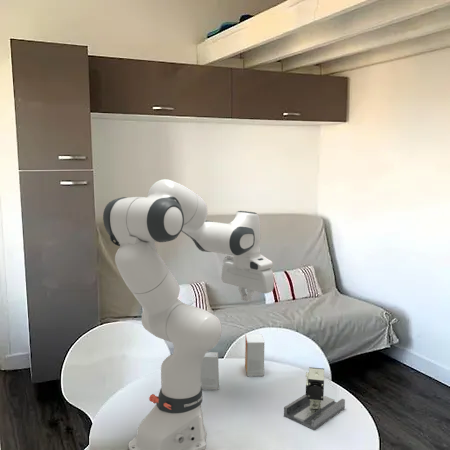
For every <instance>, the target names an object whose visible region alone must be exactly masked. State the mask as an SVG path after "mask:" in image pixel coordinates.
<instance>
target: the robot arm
mask: <svg viewBox="0 0 450 450" xmlns="http://www.w3.org/2000/svg"><path fill="white" fill-rule="evenodd" d="M207 217H208V205H207V203H206V201H205V200H204V199H203V198H202V197H201V196H200V195H199V193H196V192H195V191H193V190H192V189H191V188H189V187H187V186H185V185H184V184H182V183H179V182H176V181H175V180H171V179H167V178H164V179H160V180H157V181H156V182H154V183H153V184H152V185H151V186H150V188H149V190H148V192H147V196H132V197H131V196H130V197H128V196H127V197H126V196H122V197H118V198H115V199H113V200H111V201H109V202H108V203H107V204H106V205H105V207H104V209H103V215H102V221H103V225H104V228H105V231H106V232H107V234H108V236H109V239H110V241H111V243H113V244H114V245H116V246H118V247H119V248H118V249H117V251H116V253H115V256H114V263H115V266H116V268H117V270H118V273H119V274H120V277H121V278H122V279H123V282H124V283H125V285H126V287H127V288H128V289H129V291H130V292H131V293H132V295H133V296H134V298H135V299H136V301H137V302H138V303H139V305H140V306H141V307H142V313H141V319H140V321H141V324H142V327H143V328H144V329H145V330H146V331H147V332H148V333H150V334H151V335H153V336H155V337H157V338H159V339H161V340H165V341H166V342H170V343H172V345H173V353H172V354H170V355H168V356H167V357H166V358H165V359H164V360H163V361H162V363H161V365H160V366H161V367H160V380H161V381H160V383H161V384H160V385H161V388H160V389H159V391H158V392H159V393H158V396H157V395H156V394H153V393H152V394H150V395H149V397H148V399H149V402H151V403H153V404H155V405H154V407H153V408H152V409H151V410H150V411H149V413H148V414H147V415H146V416H145V418H143V419H142V421H141V422H140V423H139V424H138V427H137V428H138V429H137V432H136V437H134V438H133V439H132V440H130V441H129V442H128V446H127V447H128V450H205V449H207V444H206V443H207V442H206V439H207V435H208V434H207V430H206V427H205V424H204V418H203V417H204V416H203V409H202V403H203V389H202V387H201V365H202V361H203V358H204V356H205V354H206V353H207V352H210V351H211V350H212V349H214V348H215V347H216V346H217V345H218V344H219V341H220V339H221V335H222V331H223V330H222V324H221V320H220V318H218V316H216V315H215V314H213V313H211V312H210V311H208V310H206V309H204V308H202V307H197V306H193V305H191V304H186V303H185V302H183V301H182V300H179V299H178V298H179V296H180V295H179V294H180V293H181V292H180V291H181V288H180V285H179V282H178V280H177V279H176V277H175V276H174V274H173V272H171V269H170V268H169V267H168V266H167V264H166V262H165V261H164V259H163V258H162V257H161V255H160V254H159V252H158V250H157V247H156V243H157V242H158V243H167V242H172V241H173V240H176V239H177V237H178V236H180V233H181V232H182V233H183V234H185V235H186V236H188V237H189V238H190V239H191V240H192V241H193V243H194V245H195V246H196V248H197V249H198V250H199V251H201V252H207V253H217V254H222V255H226V256H225V257H224V258H223V264H222V268H221V269H222V270H221V281H222V283H225V284H227V285H230V286H236V287H238V291H239V293H240V297H241V298H240V300H241V301H244V302H247V303H249V302H251V301H252V296H253V294H254V293H255V292H258V293H261V294H265V295H266V294H269V293H271V292H273V290H274V285H275V284H274V283H275V279H274V276H275V275H274V272H273V270H272V269H271V268H273V266H274V263H273V261H272V260H270V259H269V258H267V257H265V256H264V255H263V254H261V247H260V242H261V239H262V238H261V236H262V233H261V232H262V231H261V220H260V216H259V214H258V213H257V212H253V211H248V210H247V211H246V210H238V211H236V212H235V214H234V219H233V220H232V221H230V222H229V223H225V222H219V221H218V222H217V221H216V222H215V221H213V220H207V219H208V218H207Z"/></svg>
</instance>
